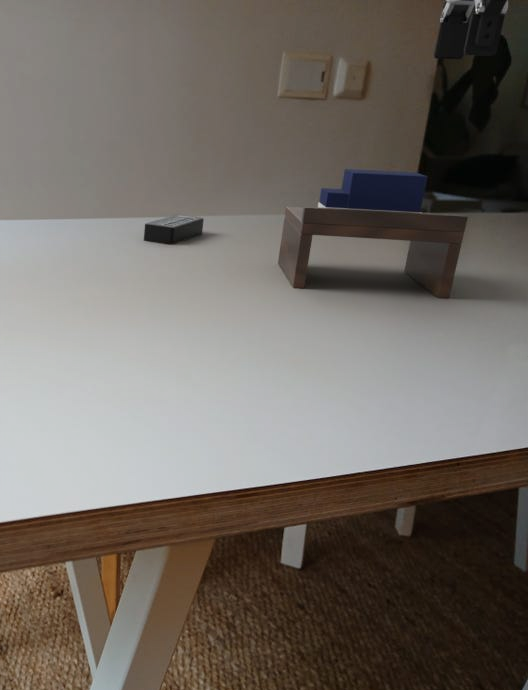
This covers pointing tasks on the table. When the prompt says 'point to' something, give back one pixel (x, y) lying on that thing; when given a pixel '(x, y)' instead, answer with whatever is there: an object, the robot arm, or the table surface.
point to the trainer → (377, 191)
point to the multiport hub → (173, 229)
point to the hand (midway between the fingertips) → (462, 57)
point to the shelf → (419, 228)
